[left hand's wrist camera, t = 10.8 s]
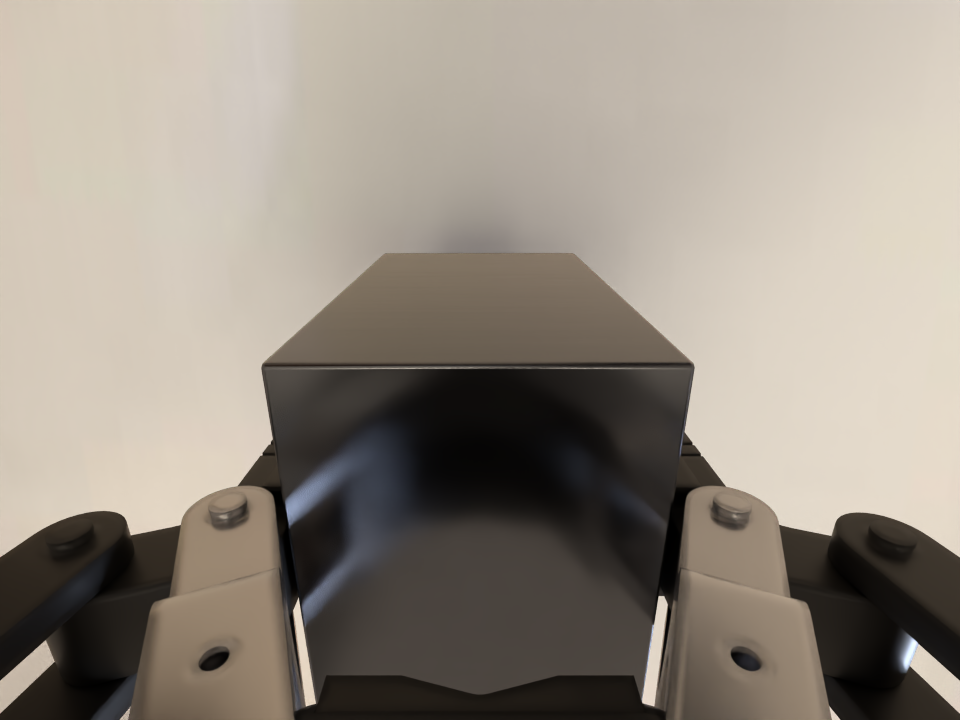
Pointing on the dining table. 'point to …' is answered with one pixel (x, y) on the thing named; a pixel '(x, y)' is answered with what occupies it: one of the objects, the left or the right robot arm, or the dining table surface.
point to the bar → (478, 471)
